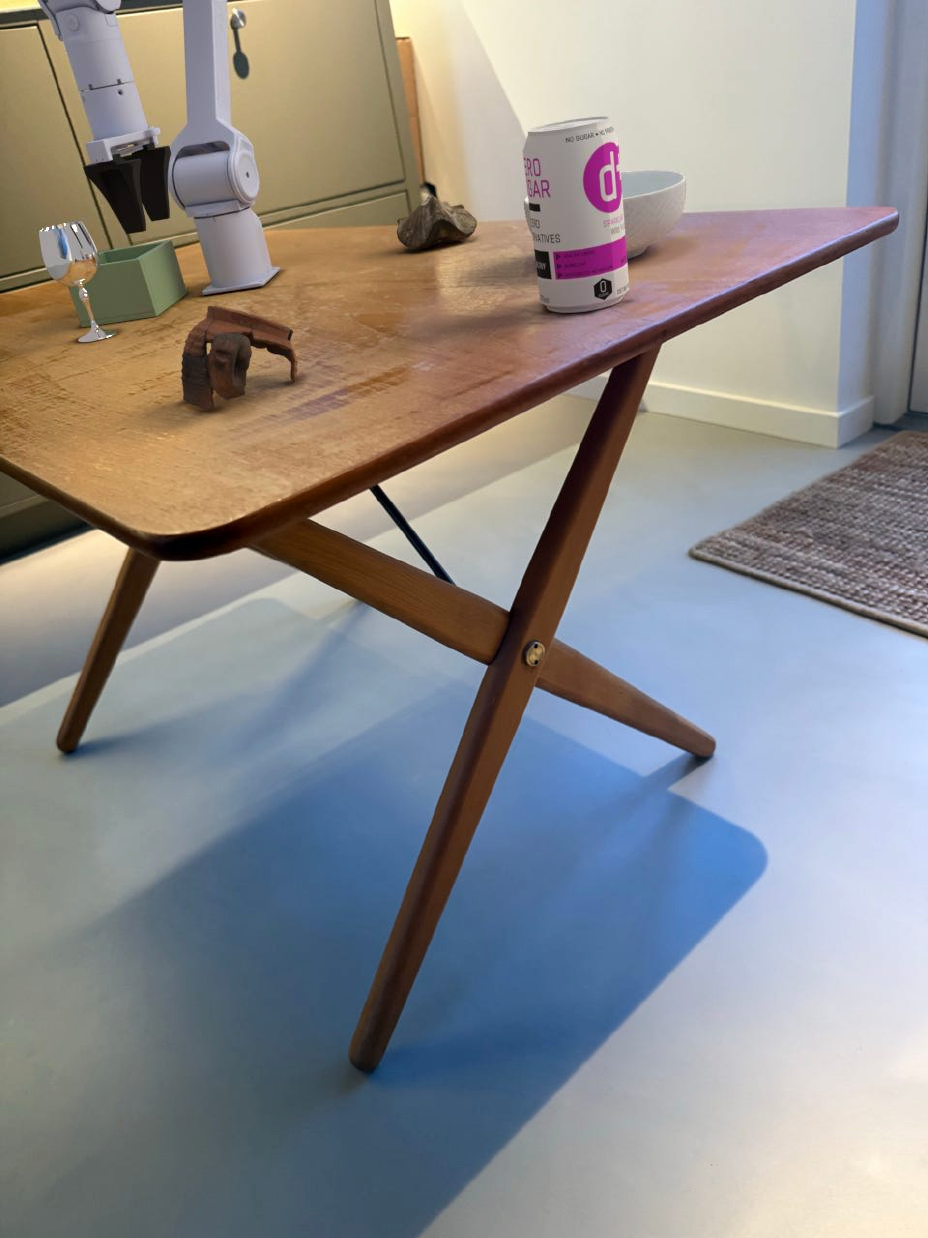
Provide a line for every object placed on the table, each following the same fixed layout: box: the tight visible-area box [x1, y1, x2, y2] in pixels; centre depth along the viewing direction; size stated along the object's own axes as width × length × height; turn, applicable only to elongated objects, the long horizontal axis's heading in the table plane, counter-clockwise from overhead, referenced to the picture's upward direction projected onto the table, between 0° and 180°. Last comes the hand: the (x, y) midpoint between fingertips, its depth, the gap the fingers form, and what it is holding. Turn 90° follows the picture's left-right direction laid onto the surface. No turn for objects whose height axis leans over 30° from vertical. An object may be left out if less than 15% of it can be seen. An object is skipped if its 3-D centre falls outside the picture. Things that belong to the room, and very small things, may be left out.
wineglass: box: [38, 220, 118, 343], centre depth 112 cm, size 6×6×12 cm
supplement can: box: [522, 115, 630, 314], centre depth 89 cm, size 8×8×15 cm
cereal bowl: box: [523, 169, 687, 260], centre depth 107 cm, size 17×17×7 cm
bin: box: [67, 239, 188, 328], centre depth 123 cm, size 12×10×7 cm
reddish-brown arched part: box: [180, 305, 299, 411], centre depth 83 cm, size 12×10×8 cm
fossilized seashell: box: [396, 194, 478, 250], centre depth 129 cm, size 8×7×10 cm
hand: (148, 225), depth 110 cm, fingers open, 7 cm apart
